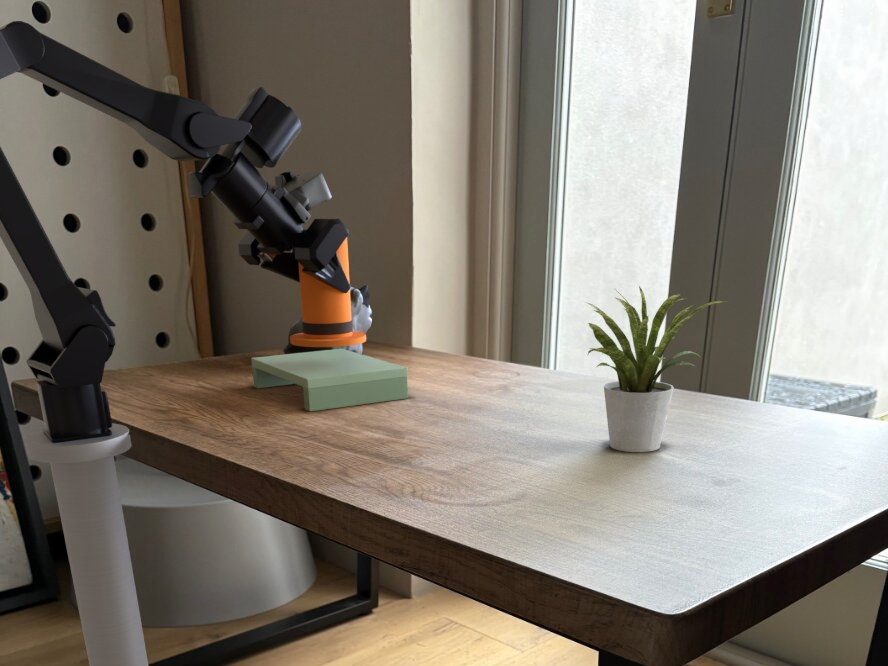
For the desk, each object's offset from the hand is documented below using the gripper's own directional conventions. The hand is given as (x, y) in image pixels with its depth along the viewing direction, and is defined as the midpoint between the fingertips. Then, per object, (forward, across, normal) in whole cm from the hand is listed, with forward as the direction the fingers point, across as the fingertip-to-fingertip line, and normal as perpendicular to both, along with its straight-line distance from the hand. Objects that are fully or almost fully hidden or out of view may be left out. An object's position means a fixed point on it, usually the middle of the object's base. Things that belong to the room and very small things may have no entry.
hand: (334, 288), depth 121 cm
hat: (+4, 0, +6) cm, 7 cm away
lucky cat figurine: (+19, +23, 0) cm, 30 cm away
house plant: (+15, -47, +4) cm, 49 cm away
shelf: (+9, +1, +10) cm, 14 cm away
